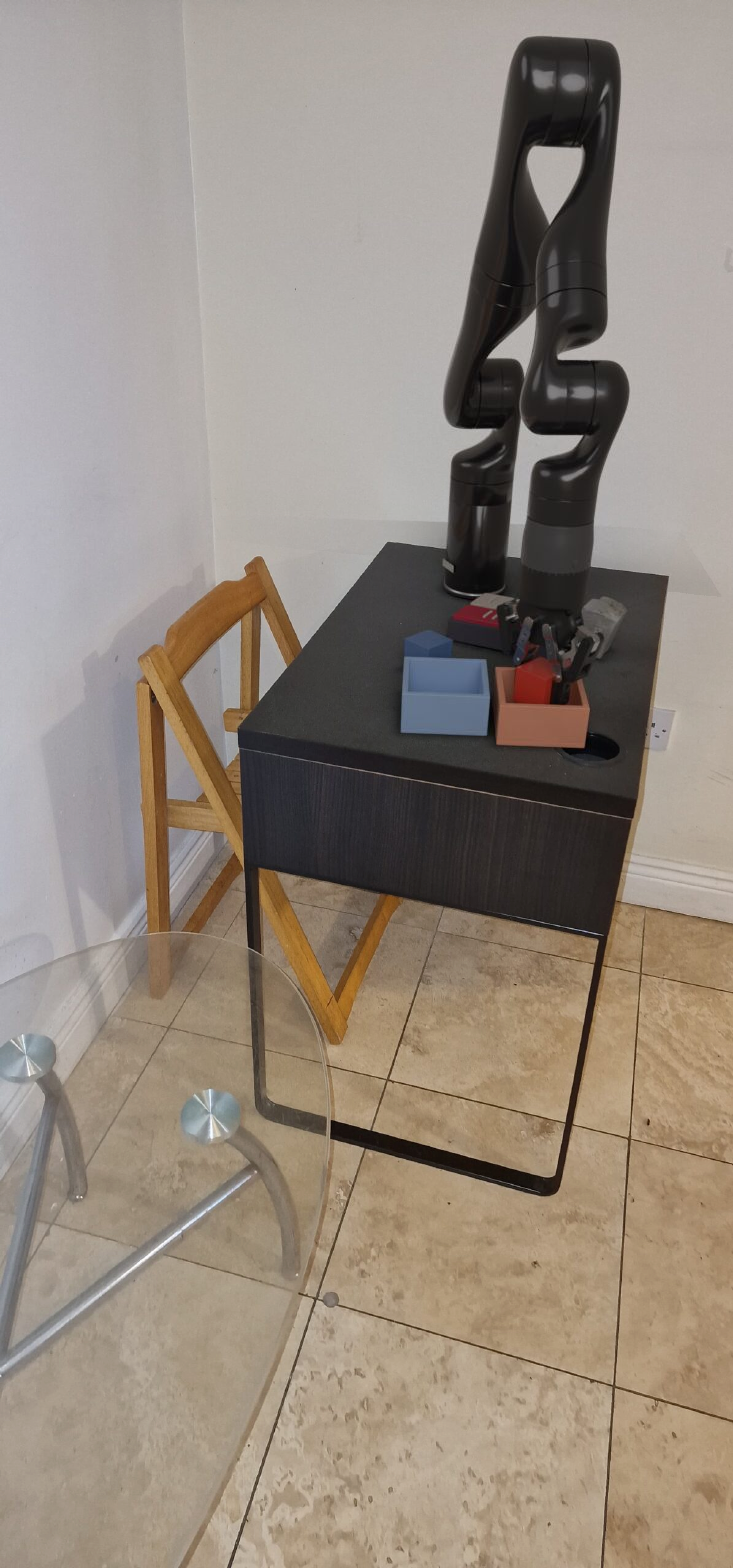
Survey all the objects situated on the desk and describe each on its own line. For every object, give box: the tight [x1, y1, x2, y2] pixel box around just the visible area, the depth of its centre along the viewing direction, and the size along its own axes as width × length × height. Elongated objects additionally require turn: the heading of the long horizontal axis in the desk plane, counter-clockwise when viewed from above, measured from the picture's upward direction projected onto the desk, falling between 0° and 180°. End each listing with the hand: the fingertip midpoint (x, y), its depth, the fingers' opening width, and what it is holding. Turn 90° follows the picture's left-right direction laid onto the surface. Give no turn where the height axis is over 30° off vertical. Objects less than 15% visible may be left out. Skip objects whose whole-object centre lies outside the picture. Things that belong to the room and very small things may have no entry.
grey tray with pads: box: [447, 593, 563, 660], centre depth 141 cm, size 11×4×15 cm
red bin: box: [491, 666, 591, 749], centre depth 119 cm, size 10×10×5 cm
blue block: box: [403, 629, 454, 658], centre depth 132 cm, size 4×4×4 cm
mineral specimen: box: [574, 596, 628, 660], centre depth 136 cm, size 7×9×8 cm
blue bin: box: [400, 656, 491, 737], centre depth 121 cm, size 10×10×5 cm
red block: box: [513, 657, 564, 705], centre depth 118 cm, size 4×4×4 cm
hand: (539, 699), depth 119 cm, fingers closed on red block, 4 cm apart
